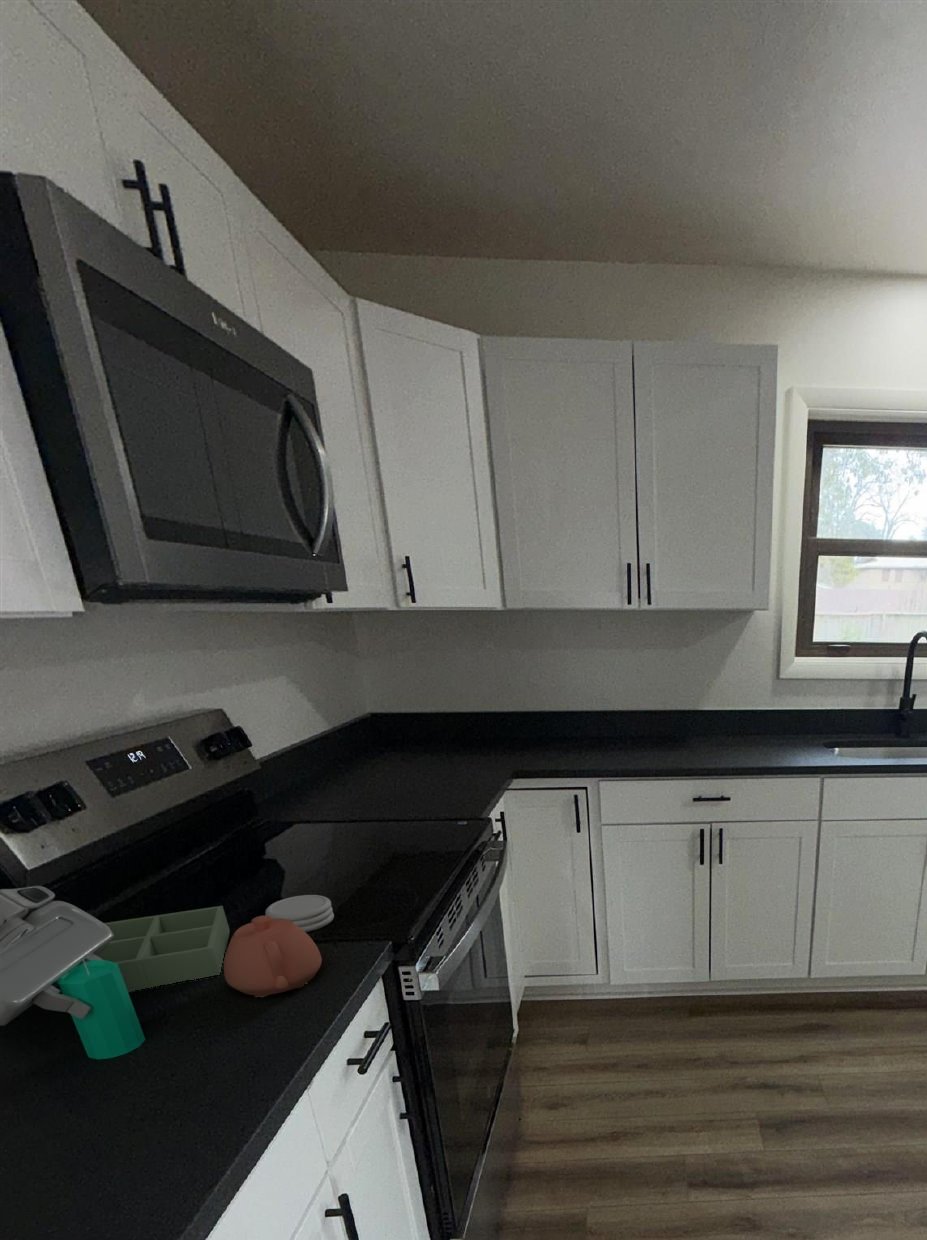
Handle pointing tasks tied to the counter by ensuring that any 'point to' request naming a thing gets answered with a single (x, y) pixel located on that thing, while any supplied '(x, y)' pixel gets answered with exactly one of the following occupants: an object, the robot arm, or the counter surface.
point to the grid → (168, 947)
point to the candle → (103, 1009)
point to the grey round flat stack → (303, 911)
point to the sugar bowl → (270, 957)
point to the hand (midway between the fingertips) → (104, 999)
